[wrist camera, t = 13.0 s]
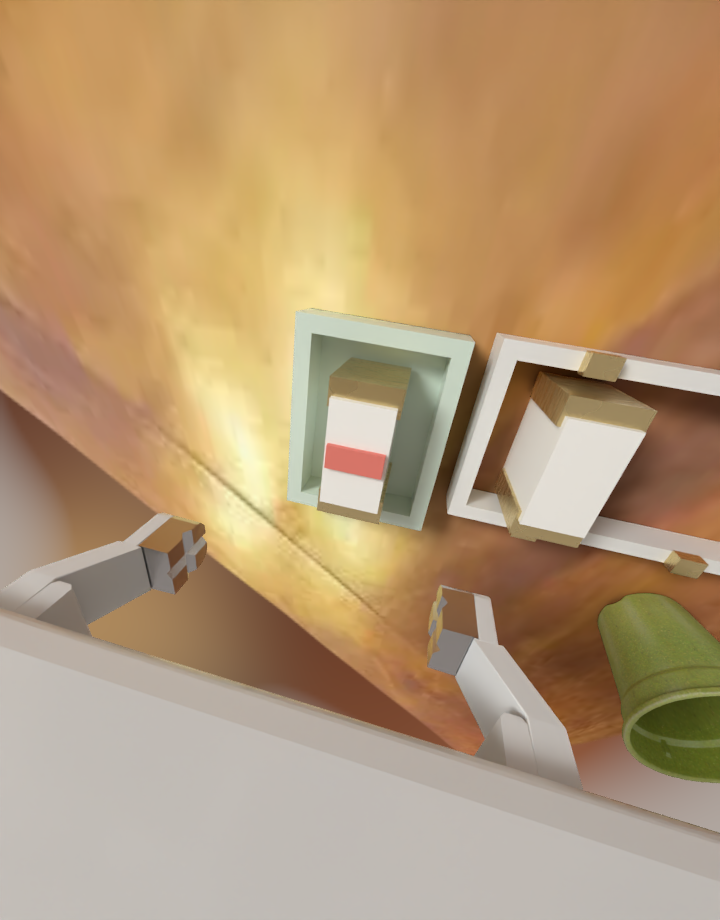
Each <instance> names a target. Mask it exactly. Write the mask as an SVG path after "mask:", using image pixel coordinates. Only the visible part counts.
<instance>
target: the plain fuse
mask: <svg viewBox="0 0 720 920" xmlns="http://www.w3.org/2000/svg"><path fill="white" fill-rule="evenodd" d="M530 397H531V398H530V401H529V404H528V406H527V409H526V411H525V414H524V416H523V419H522V421H521V424H520V426H519V429H518V432H517V434H516V437H515V439H514V442H513V444H512V447H511V449H510V452H509V454H508V457H507V460H506V462H505V465H504V467H503V468H502V469H501V472H500V474H499V477H498V479H497V482H496V484H495V490H496V493H497V497H498V500H499V503H500V506H501V509H502V513H503V516H504V519H505V522H506V526H507V529H508V532H509V533H514V534H518V535H522V536H527V537H531V538H536V539H540V540H544V541H549V542H553V543H557V544H562V545H566V546H571V547H575V548H578V546H579V544H580V543H581V541H582V539H583V538H585V536H586V535H587V533H588V531H589V530H590V528H591V526H592V525H593V523H594V521H595V519H596V518H597V516H598V514H599V513H600V511H601V509H602V508H603V506H604V504H605V502H606V501H607V499H608V497H609V496H610V494H611V492H612V491H613V489H614V487H615V486H616V484H617V482H618V480H619V479H620V477H621V475H622V474H623V472H624V470H625V469H626V467H627V465H628V463H629V462H630V460H631V458H632V457H633V455H634V453H635V452H636V450H637V448H638V447H639V445H640V443H641V441H642V440H643V438H644V436H645V435H646V433H645V432H646V430H647V429H648V427H649V425H650V424H651V422H652V420H653V418H654V417H655V415H656V413H657V412H658V411H656V410H654V409H653V408H651V407H649V406H647V405H645V404H644V403H642V402H640V401H638V400H636V399H634V398H633V397H631V396H629V395H627V394H625V393H624V392H622V391H620V390H618V389H616V388H615V387H613V386H611V385H609V384H607V383H602V382H597V381H591V380H586V379H580V378H574V377H569V376H563V375H558V374H552V373H547V372H541V371H540V372H539V374H538V377H537V380H536V382H535V385H534V387H533V390H532V392H531V395H530Z"/></svg>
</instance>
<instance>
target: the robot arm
mask: <svg viewBox="0 0 720 920" xmlns="http://www.w3.org/2000/svg"><path fill="white" fill-rule="evenodd" d="M204 534H205V526H204V525H203V524H202V523H199V522H195V521H192V520H188V519H185V518H181V517H178V516H173V515H170V514H166V513H159V514H157V515H156V516H154V517H153V518H152V519H151V520H149V521H148V522H147V523H146V524H144V525H143V526H142V527H141V528H140V529H138V530H137V531H136V532H135V533H134V534H132V535H131V536H130V537H128V538H127V539H126V540H125V541H123V542H120V541H117V542H114V543H111V544H109V545H105V546H102V547H99V548H96V549H93V550H90V551H87V552H84V553H81V554H78V555H75V556H72V557H69V558H66V559H63V560H60V561H57V562H54V563H51V564H48V565H45V566H42V567H39V568H36V569H33V570H30V571H28V572H27V573H25V574H24V575H23V576H21V577H20V578H18V579H17V580H15V581H14V582H13V583H11V584H10V585H8V586H7V587H5V588H4V589H2V590H1V591H0V920H720V833H718V832H715V831H712V830H708V829H706V828H702V827H699V826H696V825H693V824H690V823H686V822H683V821H680V820H677V819H673V818H670V817H667V816H664V815H661V814H657V813H654V812H651V811H648V810H644V809H642V808H638V807H635V806H632V805H629V804H625V803H622V802H619V801H616V800H613V799H609V798H606V797H603V796H600V795H597V794H594V793H590V792H587V791H584V790H583V788H582V784H581V780H580V777H579V774H578V770H577V766H576V763H575V759H574V756H573V752H572V748H571V745H570V741H569V738H568V734H567V731H566V729H565V727H564V726H563V725H562V723H561V722H560V721H559V719H558V718H557V717H556V715H555V714H554V713H553V711H552V710H551V709H550V707H549V706H548V705H547V703H546V702H545V701H544V699H543V698H542V697H541V695H540V694H539V693H538V691H537V690H536V689H535V687H534V686H533V685H532V683H531V682H530V681H529V679H528V678H527V677H526V675H525V674H524V673H523V671H522V670H521V669H520V667H519V666H518V665H517V664H516V662H515V661H514V660H513V658H512V657H511V656H510V654H509V653H508V652H507V650H506V649H505V648H504V646H501V645H498V639H497V634H496V628H495V622H494V616H493V610H492V604H491V599H490V598H489V597H488V596H484V595H480V594H476V593H471V592H468V591H464V590H460V589H456V588H452V587H448V586H444V585H440V587H439V589H438V591H437V601H435V602H433V606H432V609H431V613H430V618H429V628H428V633H429V635H430V636H431V639H430V642H429V644H428V661H427V667H429V668H432V669H435V670H438V671H442V672H445V673H448V674H451V675H454V676H456V677H455V678H456V680H457V682H458V684H459V686H460V688H461V690H462V692H463V695H464V697H465V699H466V701H467V703H468V705H469V707H470V709H471V711H472V713H473V715H474V717H475V719H476V721H477V723H478V725H479V727H480V729H481V731H482V734H483V736H484V738H485V740H484V742H483V743H482V745H481V747H480V748H479V750H478V751H477V753H476V754H475V756H472V755H469V754H466V753H462V752H459V751H456V750H453V749H450V748H446V747H443V746H440V745H437V744H434V743H430V742H427V741H424V740H421V739H418V738H414V737H411V736H408V735H405V734H401V733H398V732H395V731H392V730H389V729H386V728H382V727H379V726H376V725H373V724H370V723H366V722H363V721H360V720H357V719H353V718H350V717H347V716H344V715H341V714H338V713H334V712H331V711H328V710H325V709H322V708H318V707H315V706H312V705H309V704H306V703H302V702H299V701H296V700H293V699H290V698H286V697H283V696H280V695H277V694H274V693H271V692H267V691H264V690H261V689H258V688H255V687H251V686H248V685H245V684H242V683H238V682H235V681H232V680H229V679H226V678H223V677H219V676H216V675H213V674H210V673H206V672H203V671H200V670H197V669H194V668H190V667H187V666H184V665H181V664H178V663H174V662H171V661H168V660H164V659H162V658H159V657H155V656H152V655H149V654H146V653H143V652H139V651H136V650H133V649H130V648H126V647H123V646H120V645H117V644H114V643H110V642H107V641H104V640H101V639H98V638H94V637H92V635H91V633H90V630H89V628H88V624H90V623H91V622H93V621H95V620H97V619H99V618H100V617H102V616H104V615H106V614H108V613H110V612H111V611H113V610H115V609H117V608H119V607H121V606H122V605H124V604H126V603H128V602H129V601H131V600H133V599H135V598H137V597H139V596H141V595H142V594H144V593H146V592H148V591H150V590H151V588H152V589H156V590H160V591H164V592H168V593H171V594H176V593H177V592H178V590H179V589H180V588H181V587H182V586H183V585H184V583H185V582H186V581H187V580H188V573H189V572H191V571H194V570H196V569H197V568H198V567H199V566H200V565H201V563H202V562H203V560H204V558H205V555H206V551H207V542H206V541H205V540H204V538H203V537H202V536H203V535H204Z"/></svg>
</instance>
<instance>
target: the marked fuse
mask: <svg viewBox="0 0 720 920" xmlns="http://www.w3.org/2000/svg"><path fill="white" fill-rule="evenodd" d="M411 369H412V368H408V367H403V366H397V365H392V364H386V363H381V362H375V361H369V360H364V359H358V358H353V357H351V358H350V359H349V360H347V361H346V362H345V363H344V364H343V365H342V366H340V367H339V368H338V369H337V370H336V371H335V372H333V373H332V374H331V375H330V377H329V387H328V398H327V406H329V408H328V418H327V429H326V439H325V449H324V460H323V470H322V480H321V486H320V488H319V494H318V505H317V510H319V511H323V512H328V513H332V514H336V515H341V516H345V517H349V518H354V519H358V520H362V521H367V522H371V523H376V524H379V521H380V516H381V512H382V507H383V503H384V499H385V494H386V490H387V485H388V481H389V476H390V471H391V466H392V462H390V458H391V453H392V448H393V443H394V438H395V433H396V428H397V423H398V420H400V418H401V414H402V410H403V406H404V402H405V398H406V394H407V389H408V384H409V379H410V374H411Z"/></svg>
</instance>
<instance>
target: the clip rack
mask: <svg viewBox="0 0 720 920" xmlns="http://www.w3.org/2000/svg"><path fill="white" fill-rule="evenodd" d="M517 360H518V361H523V362H529V363H535V364H540V365H546V366H552V367H557V368H563V369H569V370H574V371H578V372H577V373H578V374H580V375H581V376H584V377H589V378H595V379H600V380H606V381H612V382H616V380H617V378H620V379H626V380H631V381H637V382H643V383H648V384H654V385H660V386H665V387H671V388H677V389H682V390H688V391H694V392H699V393H705V394H711V395H716V396H720V370H715V369H709V368H703V367H697V366H691V365H685V364H679V363H673V362H667V361H661V360H656V359H650V358H644V357H638V356H632V355H626V354H620V353H614V352H608V351H602V350H596V349H591V348H585V347H579V346H573V345H567V344H561V343H555V342H549V341H543V340H537V339H531V338H526V337H520V336H514V335H508V334H502V333H497V334H496V337H495V340H494V344H493V347H492V350H491V353H490V356H489V360H488V363H487V366H486V369H485V372H484V376H483V379H482V382H481V385H480V388H479V391H478V395H477V398H476V401H475V404H474V407H473V411H472V414H471V417H470V420H469V423H468V427H467V430H466V433H465V436H464V439H463V443H462V446H461V449H460V452H459V455H458V459H457V462H456V465H455V468H454V471H453V475H452V478H451V481H450V484H449V487H448V491H447V494H446V500H447V514H450V515H454V516H459V517H463V518H468V519H472V520H477V521H481V522H485V523H490V524H494V525H499V526H503V527H507V526H506V522H505V519H504V516H503V513H502V509H501V506H500V503H499V500H498V497H497V494H495V493H490V492H485V491H481V490H476V489H472V487H473V484H474V481H475V478H476V475H477V473H478V470H479V467H480V464H481V461H482V458H483V456H484V453H485V450H486V447H487V444H488V441H489V439H490V436H491V433H492V430H493V427H494V424H495V422H496V419H497V416H498V413H499V410H500V407H501V405H502V402H503V399H504V396H505V393H506V390H507V388H508V385H509V382H510V379H511V376H512V373H513V371H514V368H515V365H516V362H517ZM510 536H511V537H516V538H520V539H524V540H529V541H533V542H535V541H536V538H531V537H527V536H522V535H518V534H514V533H510ZM580 544H583V545H588V546H592V547H597V548H601V549H605V550H610V551H614V552H619V553H623V554H628V555H632V556H636V557H641V558H645V559H650V560H654V561H659V562H663V565H664V566H665V567H666V568H667V569H668V571H669V572H670V573H674V574H678V575H683V576H687V577H692V578H696V579H697V578H698V577H699V576H700V575H701V574H702V572H708V573H712V574H716V575H720V542H717V541H712V540H707V539H703V538H698V537H693V536H689V535H684V534H680V533H675V532H670V531H666V530H661V529H656V528H652V527H647V526H643V525H638V524H633V523H629V522H624V521H619V520H615V519H610V518H606V517H601V516H597V518H596V519H595V521H594V523H593V525H592V526H591V528H590V530H589V531H588V533H587V535H586V536H585V538H583V539H582V541H581V543H580Z"/></svg>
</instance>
